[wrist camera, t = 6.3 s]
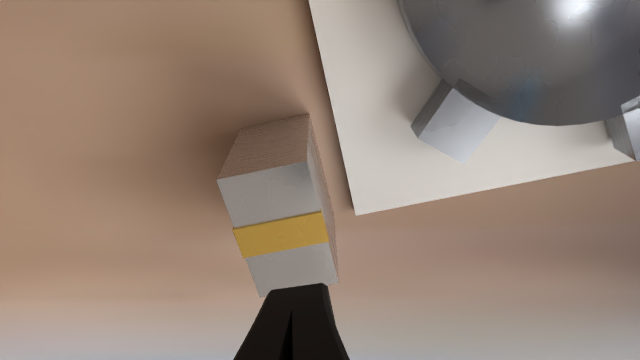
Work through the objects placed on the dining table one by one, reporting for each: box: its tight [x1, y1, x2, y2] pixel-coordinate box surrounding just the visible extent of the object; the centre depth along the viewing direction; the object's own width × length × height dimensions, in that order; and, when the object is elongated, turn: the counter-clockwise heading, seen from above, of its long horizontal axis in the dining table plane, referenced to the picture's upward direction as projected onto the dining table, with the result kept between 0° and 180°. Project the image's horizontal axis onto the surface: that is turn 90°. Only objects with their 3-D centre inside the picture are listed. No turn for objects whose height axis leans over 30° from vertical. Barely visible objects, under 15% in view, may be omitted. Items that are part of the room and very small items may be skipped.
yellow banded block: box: [216, 114, 339, 297], centre depth 17 cm, size 5×3×5 cm, turn 13°
